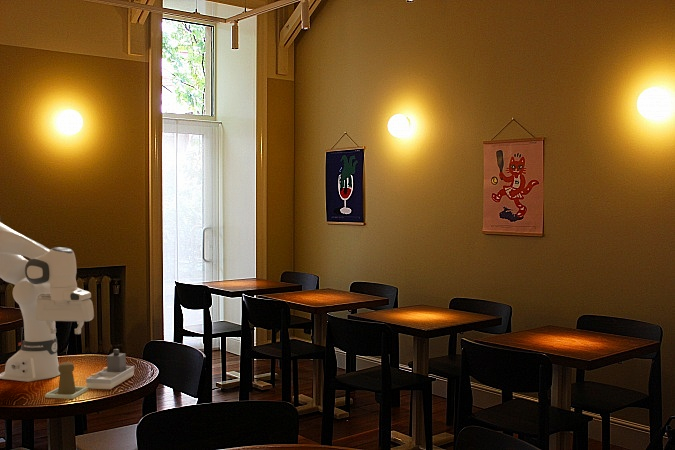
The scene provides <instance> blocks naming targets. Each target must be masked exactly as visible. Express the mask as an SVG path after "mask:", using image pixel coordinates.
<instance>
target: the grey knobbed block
mask: <svg viewBox="0 0 675 450" xmlns="http://www.w3.org/2000/svg"><path fill="white" fill-rule="evenodd" d="M106 364H107V366H106V367H107V372H124V371H125V370H126V366H127V358H126V353H122V352H120V349H119V348H114V349H113V352H112V353H110V354H109V355H107V356H106Z"/></svg>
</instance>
